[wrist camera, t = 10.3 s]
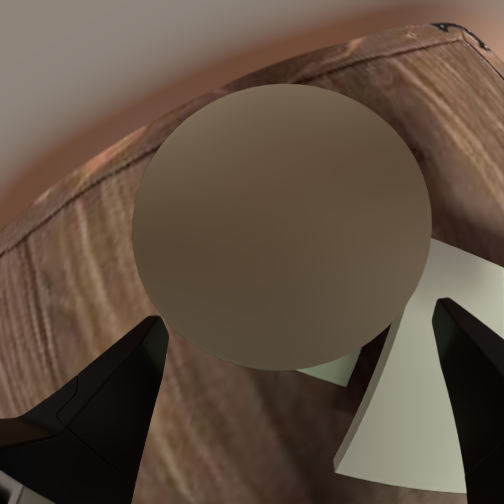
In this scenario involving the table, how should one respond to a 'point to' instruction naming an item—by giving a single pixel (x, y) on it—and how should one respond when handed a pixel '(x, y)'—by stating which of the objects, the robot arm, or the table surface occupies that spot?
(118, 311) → the table surface
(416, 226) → the birch roller
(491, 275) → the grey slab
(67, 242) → the table surface
